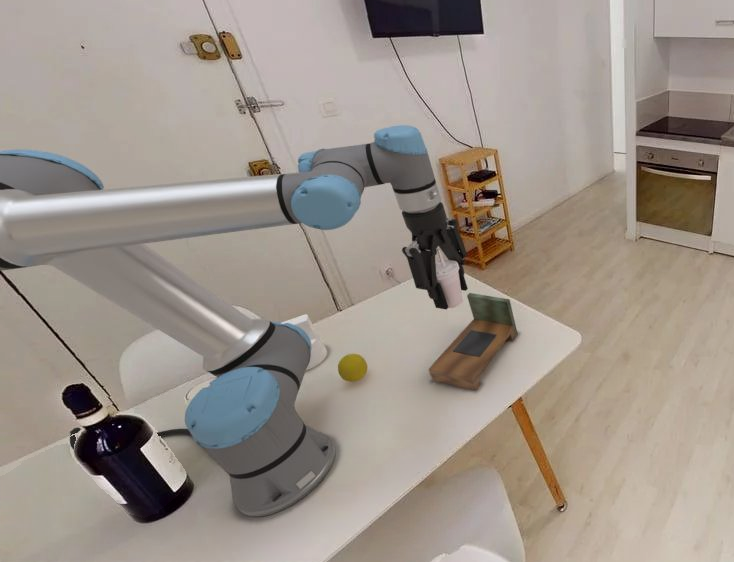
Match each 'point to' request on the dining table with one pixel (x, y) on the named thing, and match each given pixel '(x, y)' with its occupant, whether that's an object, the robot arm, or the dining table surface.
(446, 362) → the wooden board with backrest
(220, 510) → the dining table surface
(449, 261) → the smoothie
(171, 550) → the dining table surface
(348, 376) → the lemon
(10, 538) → the dining table surface
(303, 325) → the base with upright slab
